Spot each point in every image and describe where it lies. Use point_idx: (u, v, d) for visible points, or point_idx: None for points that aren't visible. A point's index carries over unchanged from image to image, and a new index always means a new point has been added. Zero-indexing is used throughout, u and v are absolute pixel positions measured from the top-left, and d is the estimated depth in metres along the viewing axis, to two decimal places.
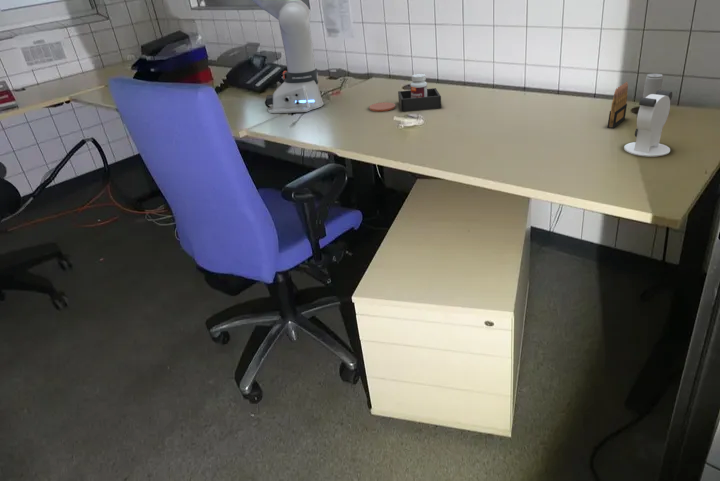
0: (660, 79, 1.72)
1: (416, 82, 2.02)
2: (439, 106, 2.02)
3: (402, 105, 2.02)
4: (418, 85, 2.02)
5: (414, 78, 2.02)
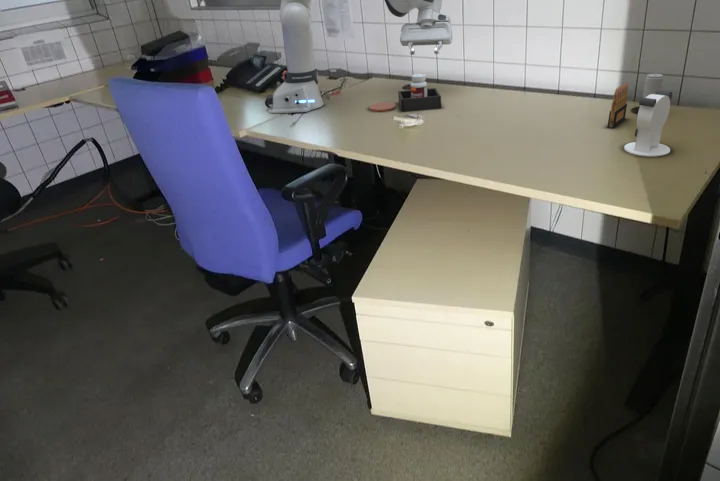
0: (660, 79, 1.72)
1: (416, 82, 2.02)
2: (439, 106, 2.02)
3: (402, 105, 2.02)
4: (418, 85, 2.02)
5: (414, 78, 2.02)
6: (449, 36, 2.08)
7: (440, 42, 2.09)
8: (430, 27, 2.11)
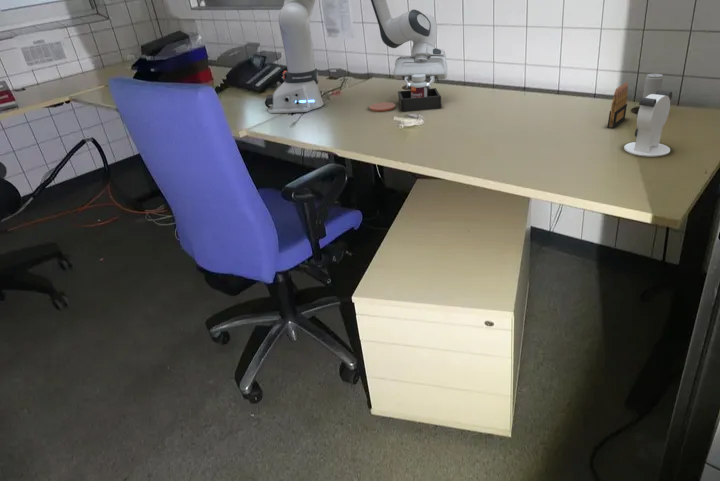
0: (660, 79, 1.72)
1: (416, 82, 2.02)
2: (439, 106, 2.02)
3: (402, 105, 2.02)
4: (418, 85, 2.02)
5: (414, 78, 2.02)
6: (444, 71, 2.02)
7: (432, 77, 2.03)
8: (425, 61, 2.05)
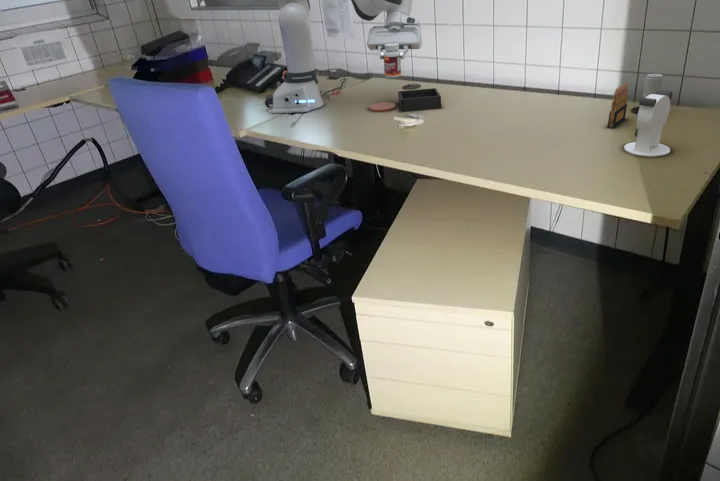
0: (660, 79, 1.72)
1: (389, 51, 1.97)
2: (439, 106, 2.02)
3: (402, 105, 2.02)
4: (391, 54, 1.97)
5: (387, 47, 1.97)
6: (418, 40, 1.97)
7: (406, 47, 1.98)
8: (398, 30, 2.00)
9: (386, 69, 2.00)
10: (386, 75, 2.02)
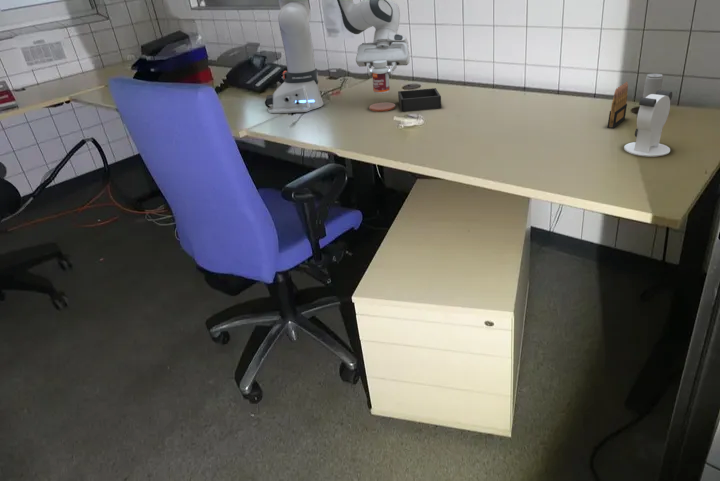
0: (660, 79, 1.72)
1: (377, 68, 2.00)
2: (439, 106, 2.02)
3: (402, 105, 2.02)
4: (379, 71, 2.00)
5: (375, 64, 2.00)
6: (405, 57, 2.00)
7: (394, 63, 2.01)
8: (386, 47, 2.03)
9: (375, 85, 2.03)
10: (375, 91, 2.05)
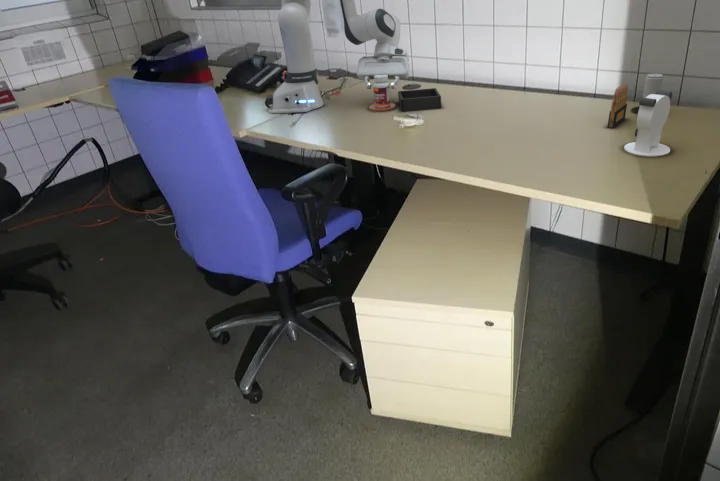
0: (660, 79, 1.72)
1: (378, 82, 2.03)
2: (439, 106, 2.02)
3: (402, 105, 2.02)
4: (380, 85, 2.02)
5: (376, 78, 2.02)
6: (406, 71, 2.02)
7: (397, 77, 2.03)
8: (387, 61, 2.06)
9: (376, 99, 2.06)
10: (376, 105, 2.07)
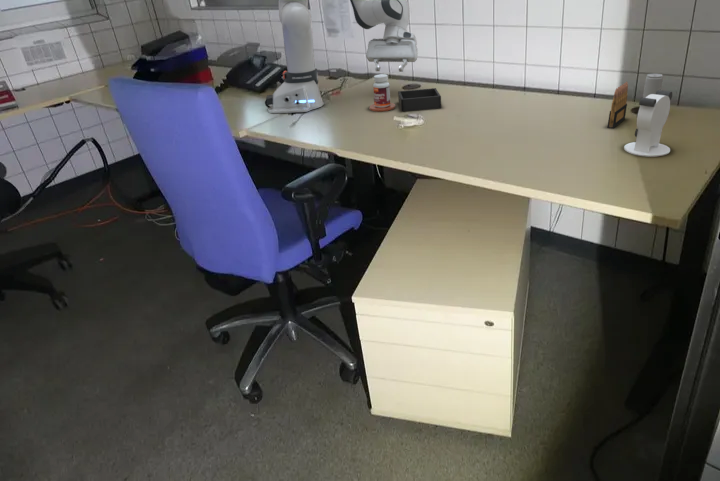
0: (660, 79, 1.72)
1: (378, 82, 2.03)
2: (439, 106, 2.02)
3: (402, 105, 2.02)
4: (380, 85, 2.02)
5: (376, 78, 2.02)
6: (413, 54, 2.10)
7: (404, 60, 2.11)
8: (395, 44, 2.13)
9: (376, 99, 2.06)
10: (376, 105, 2.07)
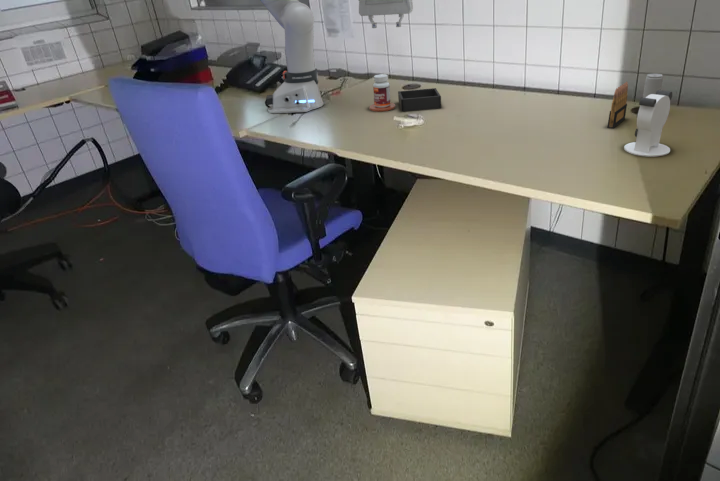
0: (660, 79, 1.72)
1: (378, 82, 2.03)
2: (439, 106, 2.02)
3: (402, 105, 2.02)
4: (380, 85, 2.02)
5: (376, 78, 2.02)
6: (409, 10, 2.00)
7: (401, 16, 2.03)
8: None
9: (376, 99, 2.06)
10: (376, 105, 2.07)
